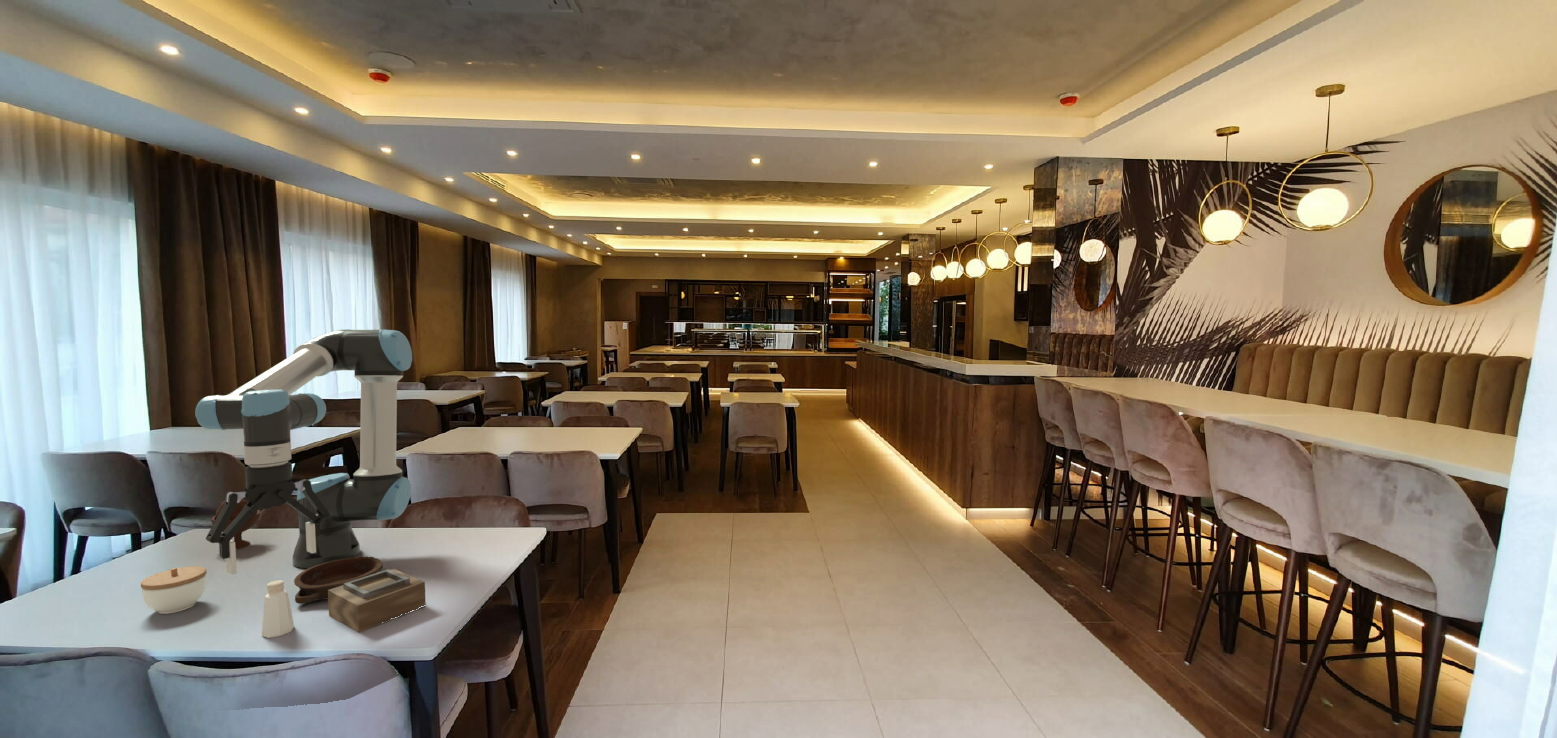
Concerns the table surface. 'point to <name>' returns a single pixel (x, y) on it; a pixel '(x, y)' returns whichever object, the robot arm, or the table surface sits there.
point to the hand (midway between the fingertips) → (273, 561)
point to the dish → (333, 576)
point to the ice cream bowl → (251, 522)
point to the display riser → (375, 599)
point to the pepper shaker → (276, 611)
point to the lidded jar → (174, 589)
